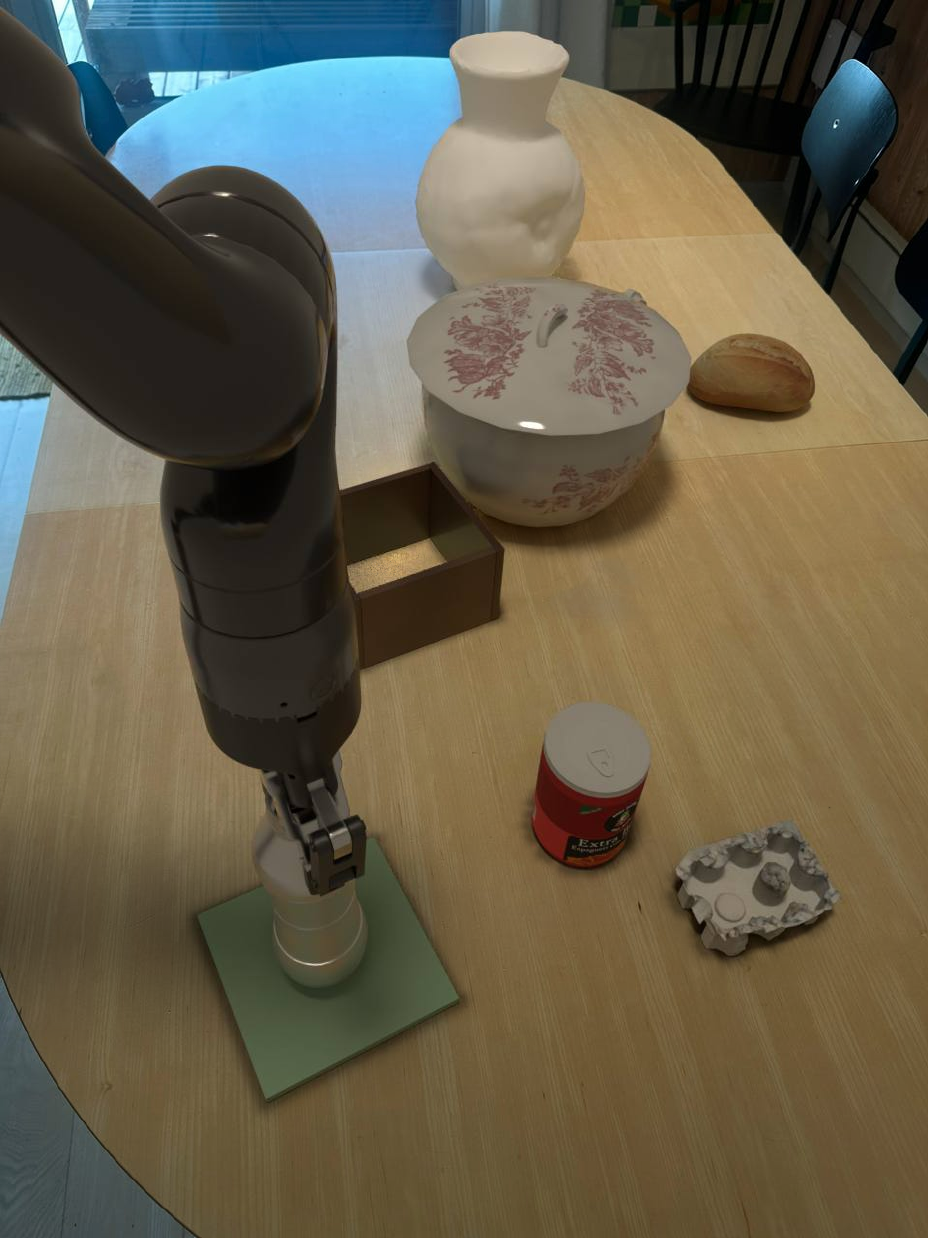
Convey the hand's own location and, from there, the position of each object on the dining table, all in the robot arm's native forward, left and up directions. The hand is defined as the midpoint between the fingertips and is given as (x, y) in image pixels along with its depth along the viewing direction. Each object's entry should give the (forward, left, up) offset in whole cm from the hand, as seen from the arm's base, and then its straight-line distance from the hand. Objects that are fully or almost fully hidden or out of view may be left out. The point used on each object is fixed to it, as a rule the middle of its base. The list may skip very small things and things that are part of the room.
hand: (304, 836), depth 56 cm
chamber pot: (+41, +39, -17) cm, 59 cm away
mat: (0, 0, -17) cm, 17 cm away
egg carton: (+30, -10, -17) cm, 36 cm away
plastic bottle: (0, 0, -16) cm, 16 cm away
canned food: (+22, +1, -17) cm, 28 cm away
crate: (+20, +30, -17) cm, 40 cm away
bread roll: (+72, +41, -17) cm, 85 cm away
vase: (+57, +77, -17) cm, 97 cm away
